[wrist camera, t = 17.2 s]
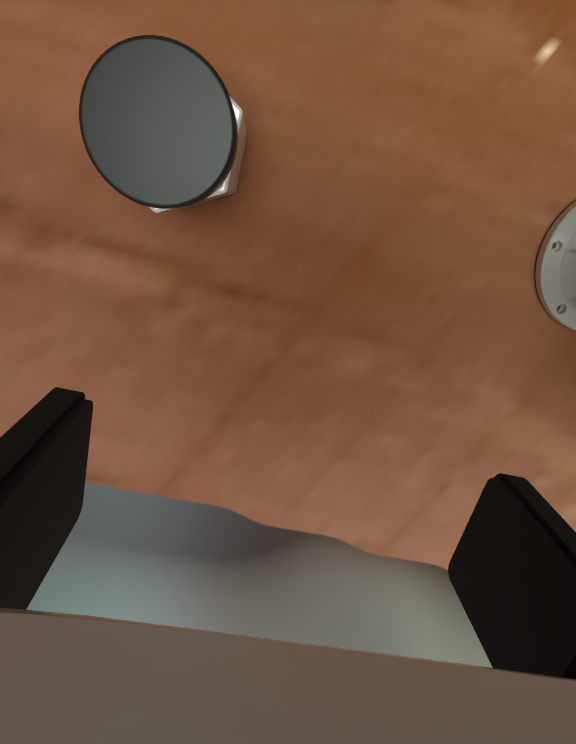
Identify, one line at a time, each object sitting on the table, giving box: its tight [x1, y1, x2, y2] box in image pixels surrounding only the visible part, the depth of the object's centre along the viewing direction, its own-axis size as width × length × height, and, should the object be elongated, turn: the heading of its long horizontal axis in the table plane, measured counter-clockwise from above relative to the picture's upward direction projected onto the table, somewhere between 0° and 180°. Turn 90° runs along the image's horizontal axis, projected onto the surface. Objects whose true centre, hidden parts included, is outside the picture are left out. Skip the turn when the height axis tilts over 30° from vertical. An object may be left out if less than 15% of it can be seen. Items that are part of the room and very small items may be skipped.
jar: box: [79, 35, 248, 213], centre depth 29 cm, size 9×8×12 cm
